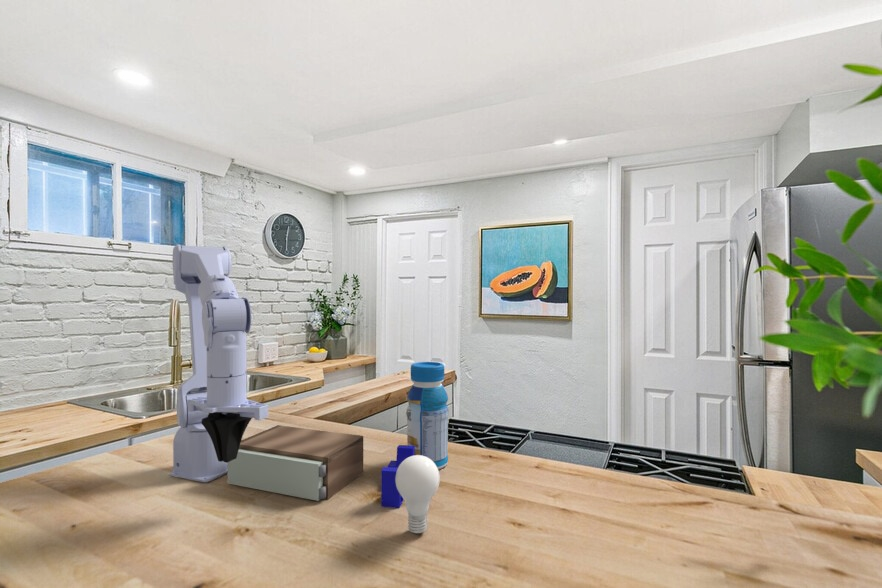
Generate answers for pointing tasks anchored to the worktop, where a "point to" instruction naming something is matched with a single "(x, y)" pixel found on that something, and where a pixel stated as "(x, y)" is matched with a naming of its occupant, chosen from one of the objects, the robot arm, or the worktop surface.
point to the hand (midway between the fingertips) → (227, 459)
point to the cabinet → (314, 451)
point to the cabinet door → (278, 474)
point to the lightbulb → (417, 489)
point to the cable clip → (393, 478)
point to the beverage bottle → (428, 412)
